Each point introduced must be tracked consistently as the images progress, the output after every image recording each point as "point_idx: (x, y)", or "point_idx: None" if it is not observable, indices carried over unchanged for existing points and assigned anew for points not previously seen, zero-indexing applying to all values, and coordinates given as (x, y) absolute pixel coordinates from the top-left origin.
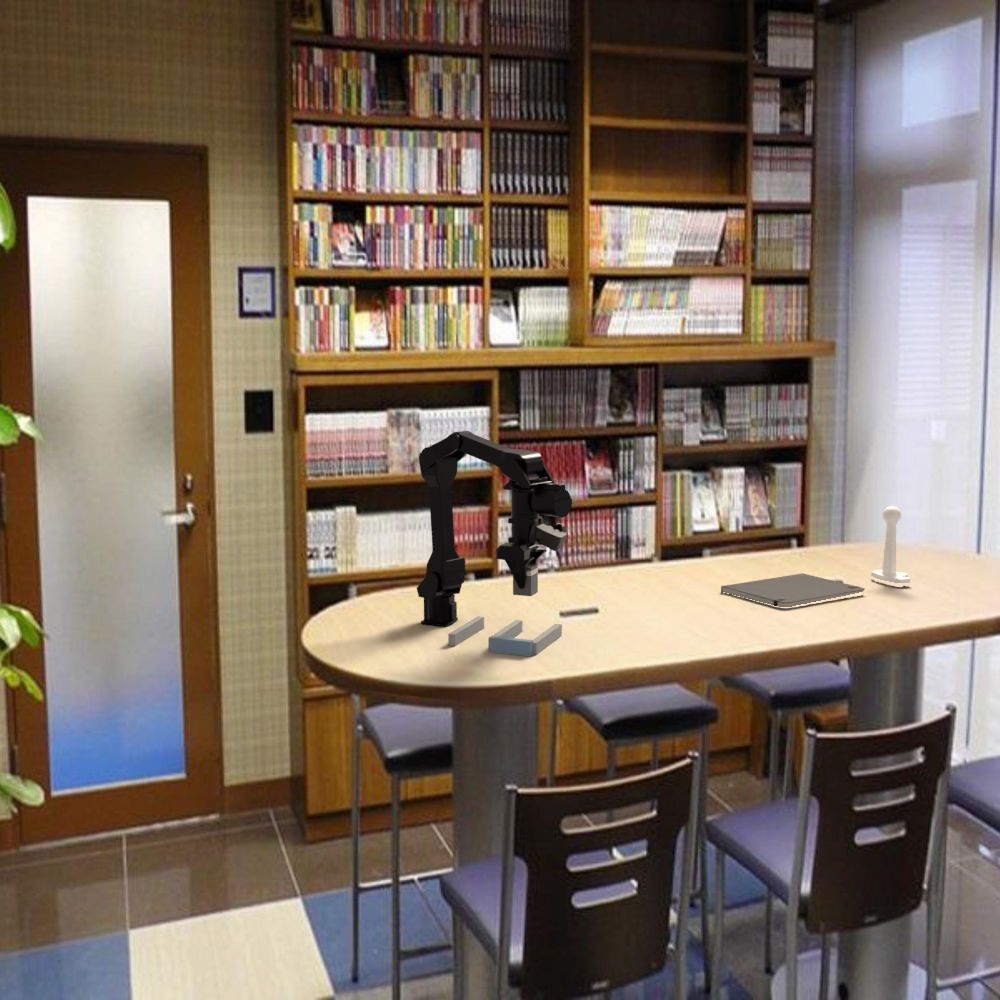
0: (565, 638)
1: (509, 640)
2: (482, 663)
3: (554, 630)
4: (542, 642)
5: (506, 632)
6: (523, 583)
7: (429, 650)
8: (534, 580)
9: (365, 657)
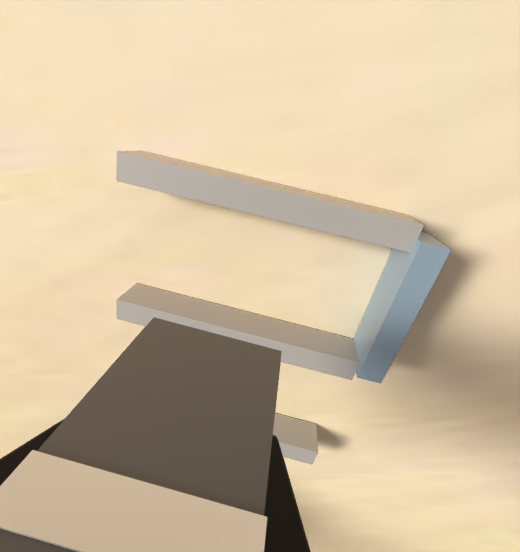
0: (171, 130)
1: (409, 323)
2: (495, 361)
3: (207, 172)
4: (350, 205)
5: (261, 334)
6: (287, 480)
7: (356, 465)
8: (176, 414)
9: (412, 548)
